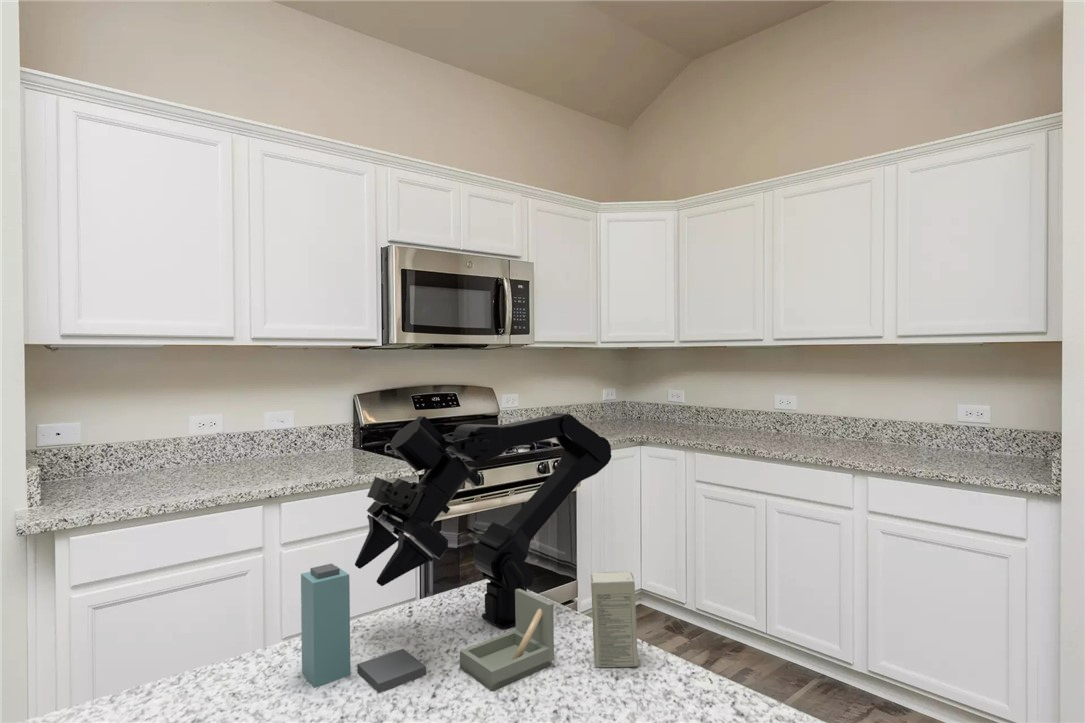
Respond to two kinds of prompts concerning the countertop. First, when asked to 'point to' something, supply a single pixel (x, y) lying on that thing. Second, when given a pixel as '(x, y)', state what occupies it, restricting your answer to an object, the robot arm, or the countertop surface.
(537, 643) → the case
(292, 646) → the countertop surface
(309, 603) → the module
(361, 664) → the foam pad
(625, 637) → the skincare box
